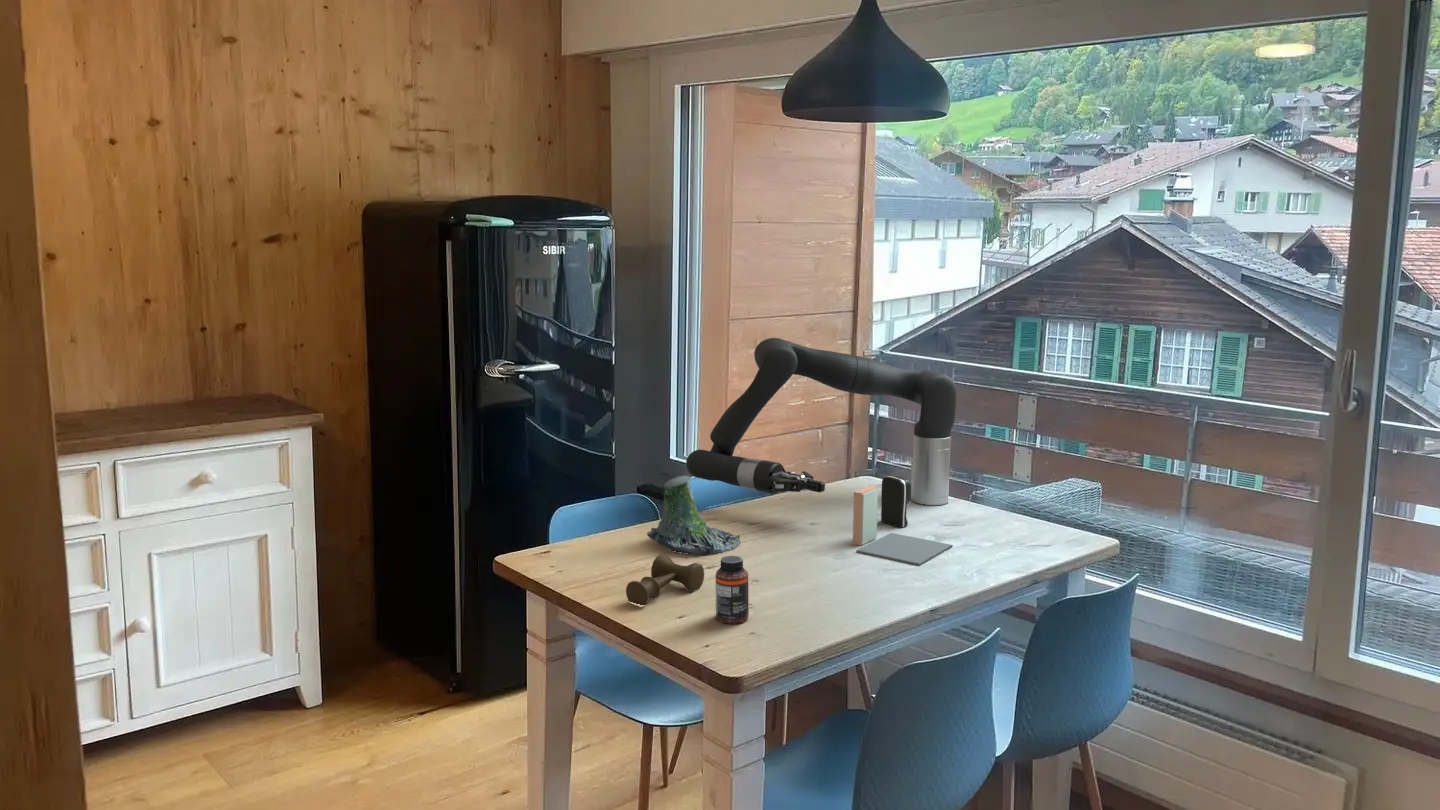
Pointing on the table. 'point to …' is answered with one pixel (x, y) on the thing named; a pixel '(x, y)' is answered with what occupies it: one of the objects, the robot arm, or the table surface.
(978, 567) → the table surface
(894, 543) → the mat
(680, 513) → the tree stump
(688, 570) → the kendama
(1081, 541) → the table surface
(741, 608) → the supplement bottle
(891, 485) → the battery charger
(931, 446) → the robot arm
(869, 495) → the tile
